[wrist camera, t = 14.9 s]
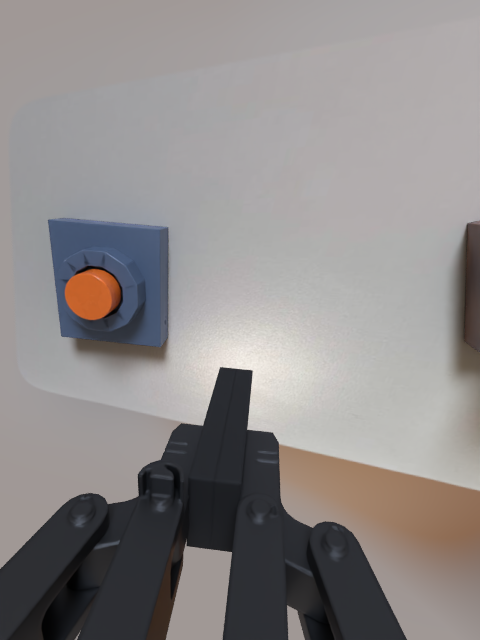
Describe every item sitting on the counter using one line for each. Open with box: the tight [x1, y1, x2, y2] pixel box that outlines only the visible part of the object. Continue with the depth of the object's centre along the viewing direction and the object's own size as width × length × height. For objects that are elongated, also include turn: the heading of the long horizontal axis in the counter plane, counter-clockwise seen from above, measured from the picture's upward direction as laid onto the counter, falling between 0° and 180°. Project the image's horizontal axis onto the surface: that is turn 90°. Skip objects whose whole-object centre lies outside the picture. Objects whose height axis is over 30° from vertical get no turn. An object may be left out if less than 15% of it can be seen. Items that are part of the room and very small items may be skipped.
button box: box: [48, 218, 168, 347], centre depth 28 cm, size 10×9×4 cm
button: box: [65, 269, 121, 320], centre depth 26 cm, size 4×4×2 cm
